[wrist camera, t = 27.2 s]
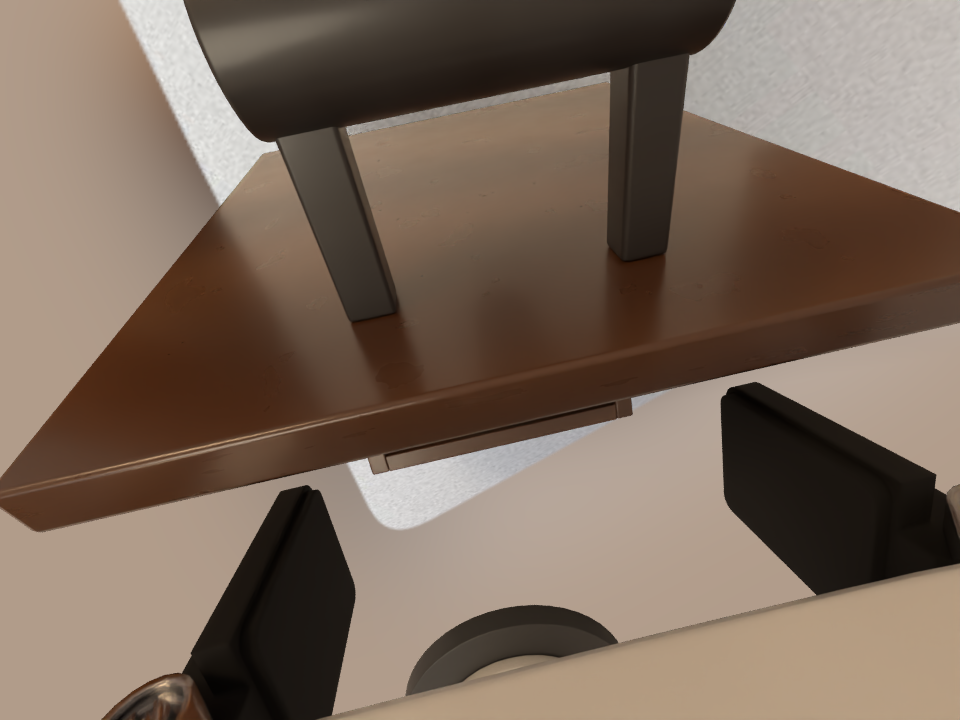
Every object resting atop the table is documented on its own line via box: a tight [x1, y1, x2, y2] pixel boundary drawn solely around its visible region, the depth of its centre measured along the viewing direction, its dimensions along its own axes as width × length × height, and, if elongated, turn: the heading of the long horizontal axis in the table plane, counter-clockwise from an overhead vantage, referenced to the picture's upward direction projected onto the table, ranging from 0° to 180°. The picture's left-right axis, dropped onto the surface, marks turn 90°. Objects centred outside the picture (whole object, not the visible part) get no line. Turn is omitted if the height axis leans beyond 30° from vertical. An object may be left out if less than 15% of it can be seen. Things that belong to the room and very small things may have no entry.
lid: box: [0, 0, 960, 532], centre depth 10 cm, size 14×13×5 cm
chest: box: [368, 398, 633, 475], centre depth 23 cm, size 14×13×8 cm
